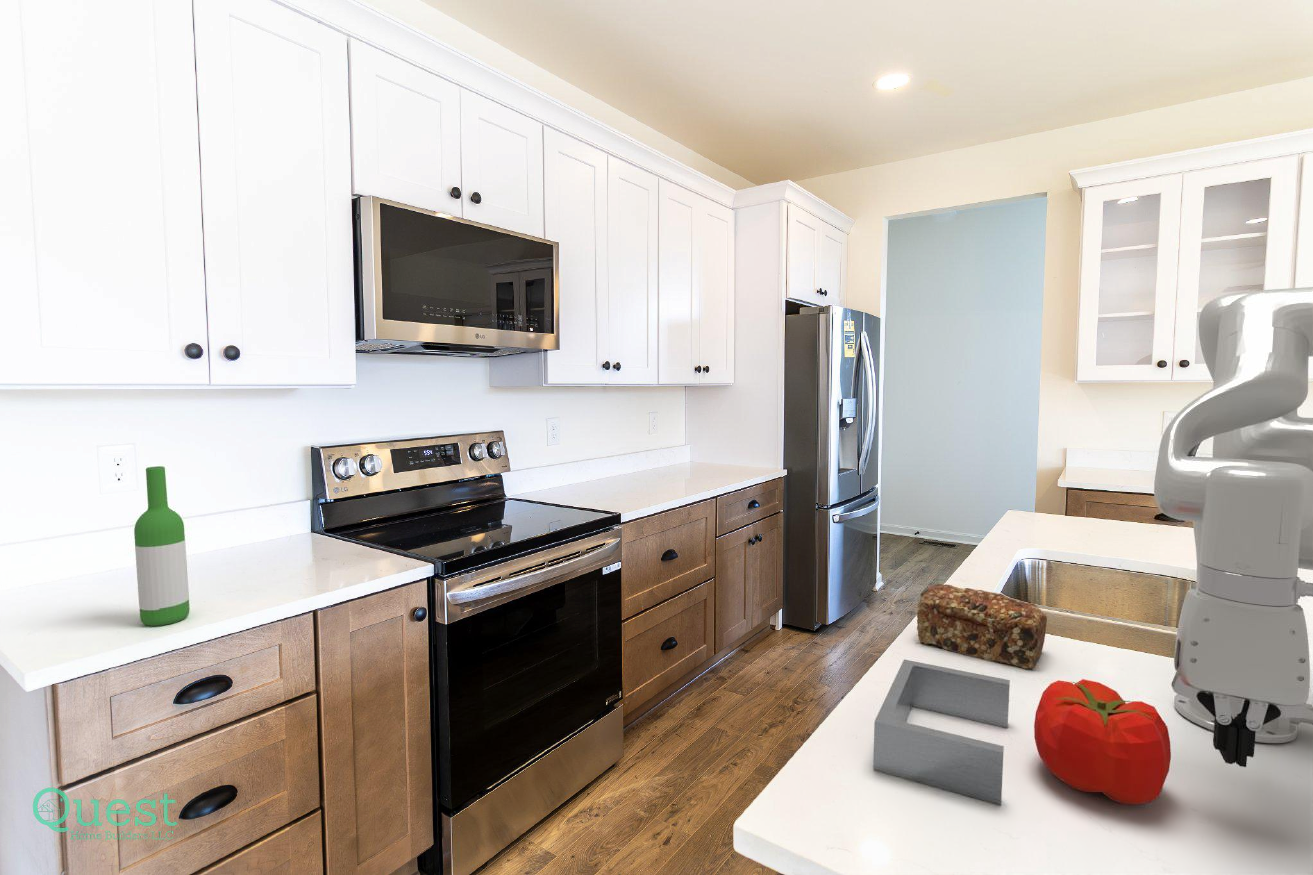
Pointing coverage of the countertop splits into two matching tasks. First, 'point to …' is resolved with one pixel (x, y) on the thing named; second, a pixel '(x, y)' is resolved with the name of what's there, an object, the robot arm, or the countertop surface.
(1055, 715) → the tomato
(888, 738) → the grey u-shaped bracket
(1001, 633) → the bread
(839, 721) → the countertop surface
